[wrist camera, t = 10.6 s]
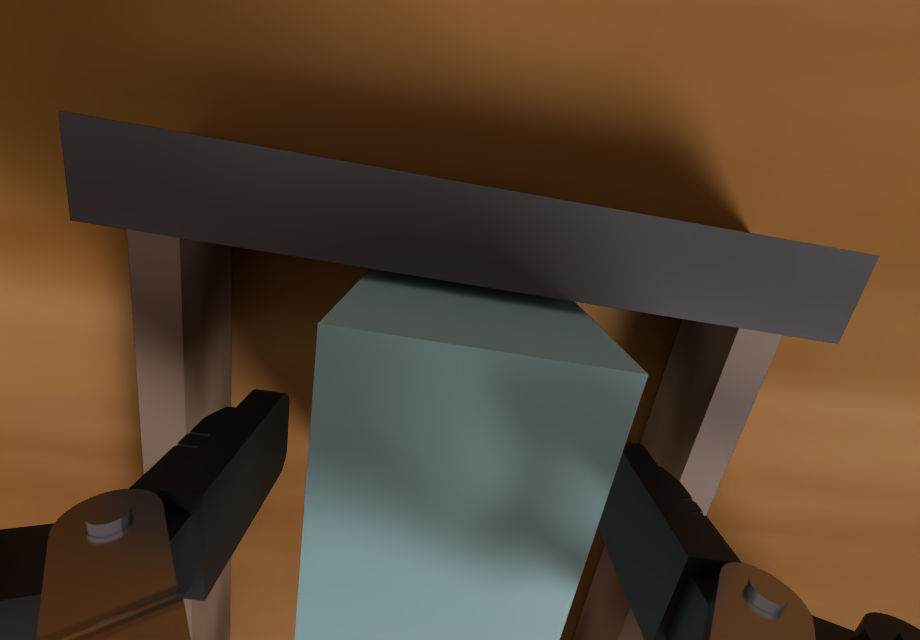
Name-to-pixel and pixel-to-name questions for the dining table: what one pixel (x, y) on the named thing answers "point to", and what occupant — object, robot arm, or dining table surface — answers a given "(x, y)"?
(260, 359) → the dining table surface
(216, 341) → the channel
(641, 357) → the dining table surface
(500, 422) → the block
